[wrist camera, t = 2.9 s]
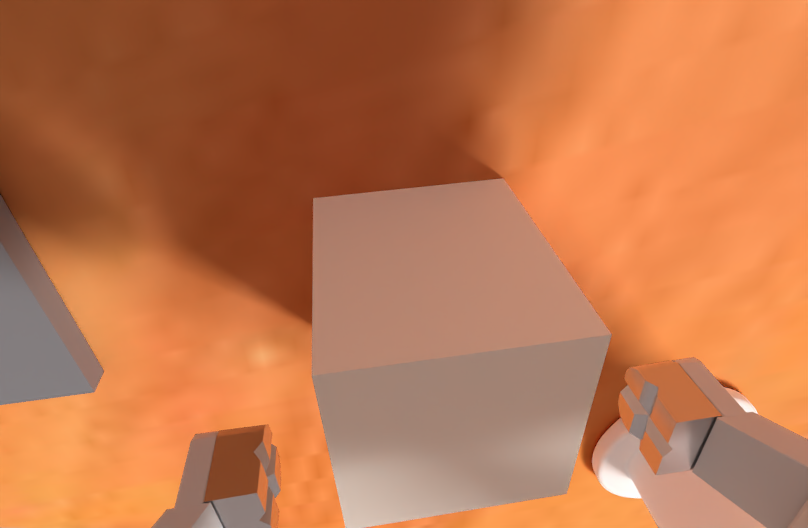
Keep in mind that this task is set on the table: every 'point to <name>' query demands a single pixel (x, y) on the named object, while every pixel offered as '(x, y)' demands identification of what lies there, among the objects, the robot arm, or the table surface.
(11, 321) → the slate plate
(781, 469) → the robot arm
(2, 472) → the table surface
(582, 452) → the table surface
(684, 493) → the candle
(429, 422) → the cream block
